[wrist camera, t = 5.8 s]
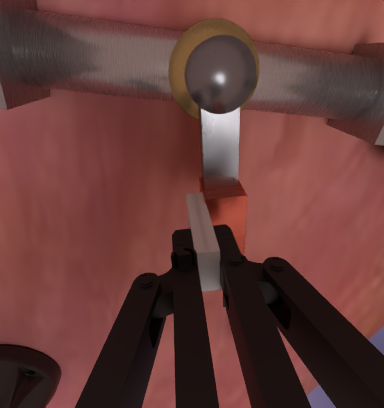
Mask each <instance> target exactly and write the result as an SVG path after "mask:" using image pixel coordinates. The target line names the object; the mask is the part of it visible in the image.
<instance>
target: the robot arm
mask: <svg viewBox="0 0 384 408" xmlns="http://www.w3.org/2000/svg"><path fill="white" fill-rule="evenodd" d="M186 200H187V210H188V221H189V229H183V230H175V232H174V233H173V235H172V244H173V252H172V254H171V261H172V268H171V269H170V270H169V271H168V272H167V273H165V274H163V275H160V276H157V275H156V274H154V273H144V274H141V275H139V276H138V277H137V278H136V279H135V280H134V282H133V284H132V286H131V288H130V290H129V292H128V295H127V297H126V299H125V301H124V303H123V305H122V307H121V310H120V312H119V314H118V316H117V318H116V320H115V323H114V325H113V327H112V329H111V331H110V333H109V335H108V338H107V340H106V342H105V344H104V346H103V348H102V350H101V353H100V355H99V357H98V359H97V361H96V363H95V366H94V368H93V370H92V372H91V374H90V376H89V378H88V381H87V383H86V385H85V387H84V389H83V391H82V393H81V396H80V398H79V400H78V402H77V404H76V406H75V408H142V404H143V400H144V397H145V393H146V390H147V386H148V382H149V379H150V375H151V371H152V368H153V364H154V360H155V357H156V353H157V350H158V346H159V342H160V339H161V335H162V331H163V328H164V324H165V320H166V316H168V315H170V314H172V313H174V349H175V392H176V408H219V403H218V396H217V390H216V383H215V376H214V369H213V363H212V356H211V349H210V343H209V336H208V329H207V322H206V316H205V309H204V302H203V296H202V292H203V291H212V290H220V289H221V287H222V290H223V307H226V311H227V315H228V318H229V322H230V326H231V330H232V334H233V338H234V342H235V346H236V350H237V353H238V357H239V361H240V365H241V369H242V373H243V377H244V381H245V384H246V388H247V392H248V396H249V400H250V404H251V408H311V406H310V404H309V401H308V399H307V396H306V394H305V392H304V390H303V387H302V385H301V383H300V380H299V378H298V376H297V373H296V371H295V369H294V366H293V364H292V362H291V359H290V357H289V355H288V352H287V350H286V348H285V345H284V343H283V341H282V339H281V336H280V334H279V332H278V329H277V327H278V328H279V330H280V331H281V332H282V334H283V335H284V337H285V338H286V339H287V341H288V342H289V343H290V345H291V346H292V348H293V349H294V350H295V352H296V353H297V354H298V356H299V357H300V359H301V360H302V361H303V363H304V364H305V365H306V367H307V368H308V370H309V371H310V372H311V374H312V375H313V376H314V378H315V379H316V380H317V382H318V383H319V385H321V387H322V389H323V390H324V391H325V393H326V394H327V396H328V397H329V398H330V400H331V401H332V402H333V404H334V405H335V406H336V408H384V355H383V354H382V353H381V352H380V351H378V349H376V347H374V345H373V344H371V343H370V342H369V341H368V340H367V339H366V338H365V337H364V336H363V335H362V334H361V333H360V332H359V331H358V330H357V329H356V328H355V327H354V326H353V325H352V324H351V323H350V322H349V321H348V320H347V319H346V318H345V317H344V316H343V315H342V314H341V313H340V312H339V311H338V310H337V309H336V308H335V307H334V306H332V305H331V304H330V303H329V302H328V301H327V300H326V299H325V298H324V297H323V296H322V295H321V294H320V293H319V292H318V291H317V290H316V289H315V288H314V287H313V286H312V285H311V284H310V283H309V282H308V281H307V280H306V279H305V278H304V277H303V276H302V275H301V274H300V273H299V272H298V271H297V270H296V269H295V268H293V267H292V266H291V265H290V264H289V263H288V262H287V261H286V260H284V259H282V258H279V257H270V258H267V259H266V260H265V261H264V262H263V263H255V262H251V261H248V260H247V258H246V257H245V256H244V255H242V254H241V252H240V250H239V247H238V245H237V242H236V240H235V237H234V235H233V232H232V230H231V228H230V227H229V226H228V225H226V224H223V225H214V226H213V225H212V222H211V219H210V215H209V212H208V208H207V205H206V204H205V201H204V197H203V193H202V192H201V193H191V194H186ZM275 324H276V325H275ZM276 326H277V327H276ZM60 378H61V371H60V368H59V367H58V365H57V364H56V363H55V362H54V361H53V360H52V359H50V358H49V357H47V356H46V355H44V354H42V353H39V352H37V351H34V350H31V349H27V348H23V347H17V346H0V408H46V406H47V405H48V403H49V402H50V400H51V399H52V397H53V396H54V394H55V392H56V390H57V387H58V384H59V381H60Z"/></svg>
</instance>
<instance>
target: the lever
mask: <svg viewBox="0 0 384 408" xmlns="http://www.w3.org/2000/svg"><path fill="white" fill-rule="evenodd" d="M256 75H257V69H256V63H255V59H254V56H253V54H252V52H251V50H250V49H249V47H248V46H247V45H246V44H245V43H244V42H243V41H241V40H240V39H238V38H236V37H234V36H231V35H216V36H213V37H210V38H208V39H206V40H205V41H203V42H201V43H200V44H198V45H197V46H196V47H195V48H194V49H193V50H192V52H191V53H190V55H189V57H188V59H187V62H186V65H185V70H184V79H185V84H186V88H187V90H188V92H189V94H190V96H191V97H192V99H193V100H194V102H195V103H196V104H197V105H198V111H199V130H200V150H201V170H202V177H199V181H200V193H201V192H202V193H203V197H204V201H205V204H206V205H207V208H208V212H209V215H210V219H211V222H212V225H213V226H214V225H223V224H226V225H228V226H229V227H230V228H231V230H232V232H233V235H234V237H235V240H236V242H237V245H238V247H239V250H240V252H241V254H244V253H245V232H246V212H247V194H246V193H245V191H244V189H243V187H242V186H241V184H240V182H239V180H238V161H239V125H240V106H242V105H243V104H244V103H245V102H246V100H247V99H248V98H249V96H250V95H251V93H252V91H253V88H254V85H255V81H256Z"/></svg>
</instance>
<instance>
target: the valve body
mask: <svg viewBox="0 0 384 408" xmlns="http://www.w3.org/2000/svg"><path fill="white" fill-rule="evenodd" d="M216 35H231V36H234V37H236V38H238V39H240V40H241V41H243V42H244V43H245V44H246V45H247V46H248V47H249V49H250V50H251V52H252V54H253V56H254V59H255V63H256V69H257V75H256V81H255V85H254V88H253V91H252V93H251V95H250V96H249V98H248V99H247V100H246V102H245V103H244V104H243V105H242V106H240V110H242V109H246V110H255V111H265V112H274V113H284V114H293V115H303V116H312V117H321V118H329V120H328V123H327V125H328V126H331V127H333V128H336V129H338V130H340V131H343V132H345V133H348V134H350V135H353V136H355V137H357V138H360V139H362V140H365V141H367V142H370V143H372V144H374V145H384V43H372V44H360V45H355V48H354V50H353V53H352V55H349V54H342V53H335V52H328V51H320V50H313V49H306V48H299V47H292V46H285V45H278V44H270V43H263V42H256V41H252V39H251V38H250V36H249V35H248V34H247V33H246V31H245V30H244V29H242V28H241V27H240V26H238V25H237V24H235V23H233V22H231V21H228V20H224V19H216V18H215V19H207V20H203V21H201V22H198V23H196V24H195V25H193V26H191V27H190V28H189V29H188V30H186V31H178V30H170V29H163V28H156V27H149V26H142V25H135V24H128V23H120V22H113V21H106V20H99V19H92V18H85V17H78V16H70V15H63V14H56V13H49V12H42V11H38V10H37V4H36V0H0V109H5V110H8V109H11V108H14V107H18V106H21V105H24V104H27V103H31V102H34V101H37V100H41V99H44V98H47V97H50V90H49V89H57V90H67V91H76V92H86V93H95V94H104V95H114V96H123V97H133V98H142V99H152V100H161V101H171V102H177V103H178V104H179V106H180V107H181V108H182V109H183V110H184V111H185V112H186V113H187V114H189V115H190V116H192V117H194V118H196V119H199V111H198V105H197V104H196V103H195V102H194V100H193V99H192V97H191V96H190V94H189V92H188V90H187V88H186V84H185V79H184V70H185V65H186V62H187V59H188V57H189V55H190V53H191V52H192V50H193V49H194V48H195V47H196V46H197V45H198V44H200V43H201V42H203V41H205V40H206V39H208V38H210V37H213V36H216Z"/></svg>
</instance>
